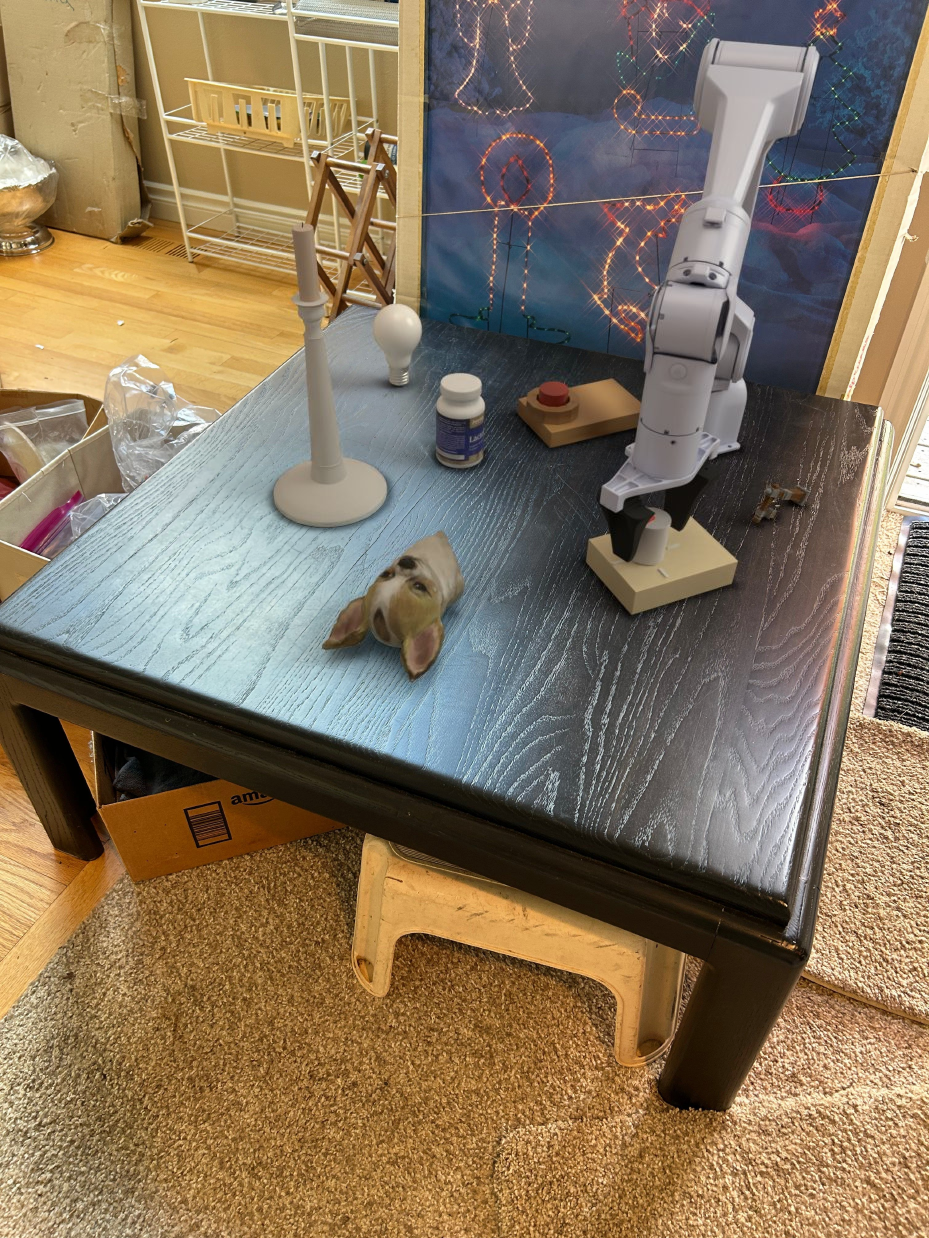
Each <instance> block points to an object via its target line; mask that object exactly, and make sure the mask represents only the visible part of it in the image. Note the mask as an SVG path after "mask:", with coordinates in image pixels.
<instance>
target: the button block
mask: <svg viewBox="0 0 929 1238" xmlns="http://www.w3.org/2000/svg"><path fill="white" fill-rule="evenodd" d="M539 388H540V386H538V387H534V388H533V389H531V390H530V391H529V392H527V394H526V396H525V397H520V398H518V400H517V414H518V416H519V417H520V418H521V419H522V420H523V421H524V422H525V424H527V426H528V427H529V428H531V430H532V431H533V433H535V434H536V435H537V436H538V437H539V438H540V439H541V440H542V441H543V442H544V443H545V445H547V447H548V448H550V449H551V448H556V447H560V446H564V445H569V444H573V443H576V442H581V441H585V440H589V439H593V438H598V437H602V436H606V435H611V434H614V433H619V432H623V431H627V430H632V429H637V427H638V421H639V415H640V409H641V403H642V401H639V400H638V399H637V398H636V397H635V396H634V395H632V393H630V392H629V391H628V390H626V388H625V387H623V386H622V385H621V384H620V383H619V382H618V381H616V380H615V379H614V378H608V379H604V380H599V381H594V382H589V383H586V384H580V385H575V386H571V387H568V388H569V392H568V402H567V404H566V405H565V406H560V407H549V406H545V405H542V404H540V403H539Z"/></svg>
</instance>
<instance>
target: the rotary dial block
mask: <svg viewBox="0 0 929 1238" xmlns="http://www.w3.org/2000/svg"><path fill="white" fill-rule="evenodd" d="M585 558H586V560H585V562H586V564H587V565H588V566H589V568H591V570H592V571H593V572H594V573H595V574H596V576H597V577H598V578H599V579H600V580H601V581H602V582H603V584H604V585H605V586H606V587H607V588H608V589H609V590H610V592H611V593H612V594H613V595H614V596H615V597H616V599H617V600H618V601H619V602H620V603H621V604H622V606H623V607H624V608H625V609H626V610H627V612H628V614H630V615H631V616H632V615H636V614H639V613H642V612H645V611H649V610H653V609H655V608H658V607H660V606H665V605H668V604H671V603H674V602H678V601H680V600H684V599H688V598H691V597H693V596H697V595H700V594H703V593H707V592H710V591H712V590H717V589H719V588H723V587H725V586H729V585H732V584H733V580H734V578H735V573H736V571H737V566H738V563H739V560H738V559H737V558H735V556H734V555H732V553H730V551H728V550H727V549H726V548H725V547H724V546H723V545H722V544H721V543H720V542H719V541H718V540H716V539H715V538H714V536H712V535H711V534H710V533H709V532H708V531H707V530H706V529H705V528H704V527H703V526H702V525H701V524H700V523H698V521H696V520H695V519H694V518H693V516H692V515H691V516H690V518H689V520H688V522H687V524H686V526H685V527H684V529H683V530H681V531H680V532H678V531H677V530H675V529H673V528H672V527H670V530H669V535H668V540H667V545H666V550H665V554H664V559H663V560H662V561H661V562H660V563H658V564H656V565H650V566H647V565H641V564H638V563H636V562H634V561H633V560H632V561H630V562H625V561H624V560H622V559H621V558H619V557H618V556H616V555H615V554H613V550H612V543H611V537H610V533H607V534H603V535H600V536H596V537H593V538H589V539H588V543H587V552H586V557H585Z"/></svg>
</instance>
